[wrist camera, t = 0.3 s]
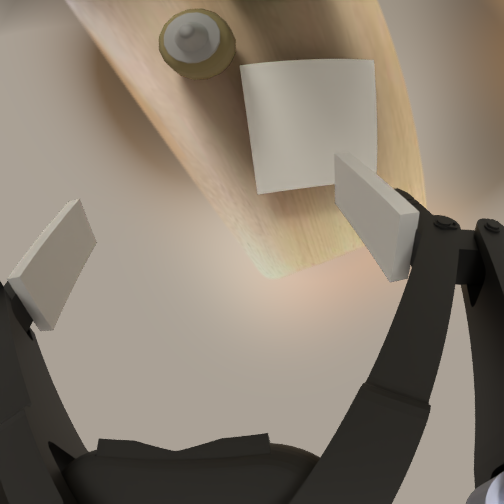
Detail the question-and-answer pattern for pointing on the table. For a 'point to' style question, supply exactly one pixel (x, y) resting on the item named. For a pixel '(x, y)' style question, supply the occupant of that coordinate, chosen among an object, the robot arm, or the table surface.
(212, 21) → the squeeze bottle
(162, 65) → the table surface
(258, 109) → the display podium
